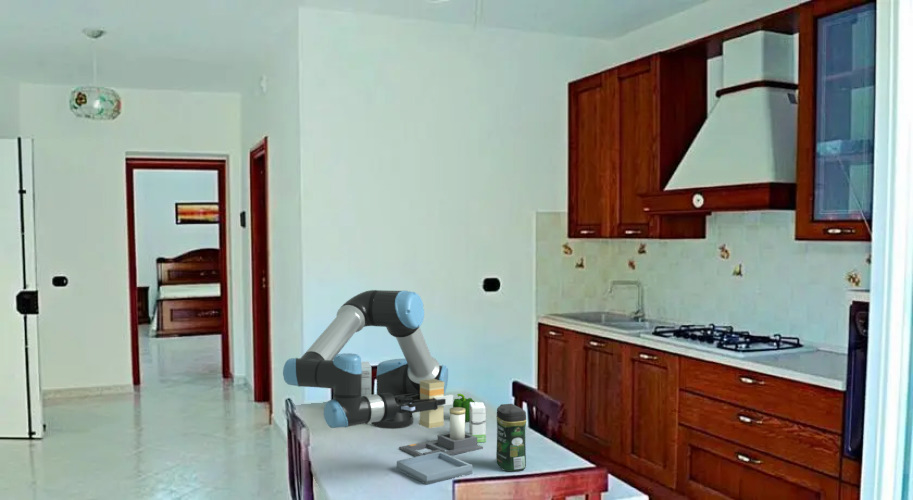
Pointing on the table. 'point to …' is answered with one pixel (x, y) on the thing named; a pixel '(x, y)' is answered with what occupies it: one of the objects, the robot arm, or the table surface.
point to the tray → (434, 467)
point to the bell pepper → (463, 405)
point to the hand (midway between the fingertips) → (446, 397)
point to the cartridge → (457, 423)
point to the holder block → (444, 445)
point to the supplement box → (366, 379)
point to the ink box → (478, 421)
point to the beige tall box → (428, 392)
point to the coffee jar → (511, 438)
